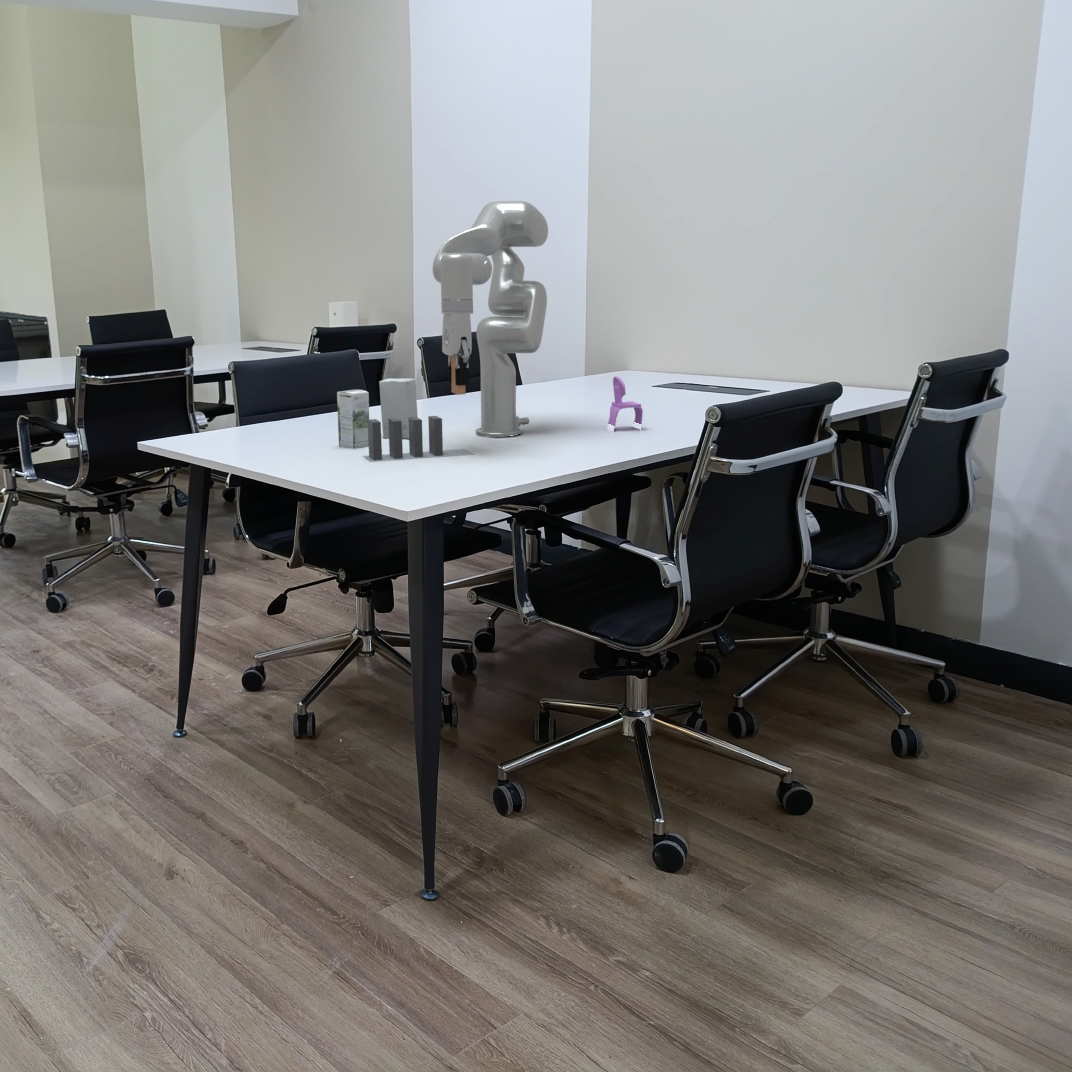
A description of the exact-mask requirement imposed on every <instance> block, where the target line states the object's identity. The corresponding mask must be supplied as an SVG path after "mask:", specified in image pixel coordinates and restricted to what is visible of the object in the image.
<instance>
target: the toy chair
mask: <svg viewBox="0 0 1072 1072" xmlns="http://www.w3.org/2000/svg"><path fill="white" fill-rule="evenodd" d="M612 386H613V396H614V401H612V402H611V406H610V408H609V418H608V423H607V424H611V425H613V426H615V427H616V423H617V418H618V414H619V412H620V410H623V409H629V408H630V409H633V410H634V421H633V423H634V422H636V423H639V424H642V425H643V415H644V414H643V413H644V412H643V411H644V410H643V407H642V404H641V403H638V402H635V401H623V397H624V396H626V395H627V393H626V385H625V382H624V380H622V378H620V376H613V379H612Z"/></svg>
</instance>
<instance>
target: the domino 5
mask: <svg viewBox="0 0 1072 1072" xmlns="http://www.w3.org/2000/svg"><path fill="white" fill-rule="evenodd" d="M460 359H461V358H459V362H460ZM455 369H457V367H456V357H455V356H451V381H452V383H450V384H451V393H453V394H455V395H458V396H460V395H461V396H462V395H466V385H458V386H457V385H456V384H455Z"/></svg>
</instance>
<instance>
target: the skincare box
mask: <svg viewBox="0 0 1072 1072" xmlns="http://www.w3.org/2000/svg"><path fill="white" fill-rule="evenodd" d="M378 383H379V396H380V398H379V399H380V414H381V430H382V438H383V439H389V424H388V418H397V419H399V420H401V421H402V440H403V439H406V440H407V439H408V440H409V418H408V417H418V402H417V388H416V386H417V385H416V378H394V377H393V378H390V377H389V378H386V379H383V380H380V381H378ZM418 418H419V417H418Z"/></svg>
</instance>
